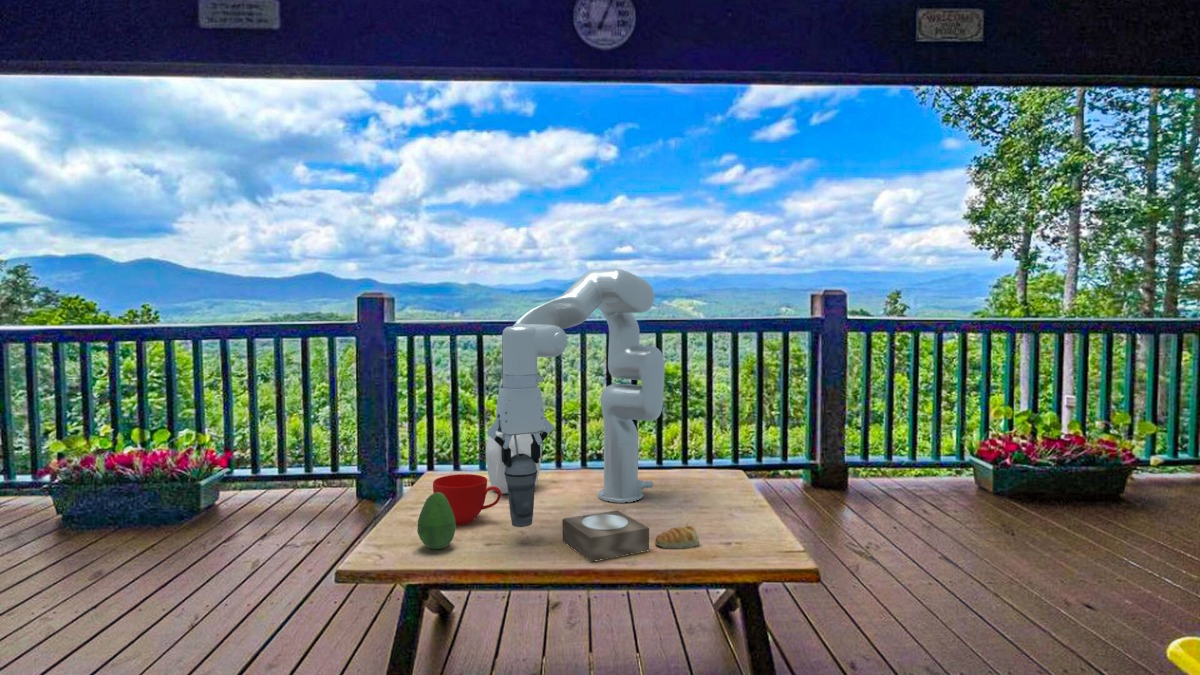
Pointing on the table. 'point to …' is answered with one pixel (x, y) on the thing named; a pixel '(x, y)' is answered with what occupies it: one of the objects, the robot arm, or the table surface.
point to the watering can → (495, 459)
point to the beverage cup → (521, 488)
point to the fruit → (436, 522)
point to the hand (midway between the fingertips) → (521, 463)
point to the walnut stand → (605, 535)
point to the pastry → (678, 537)
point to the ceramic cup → (465, 495)
